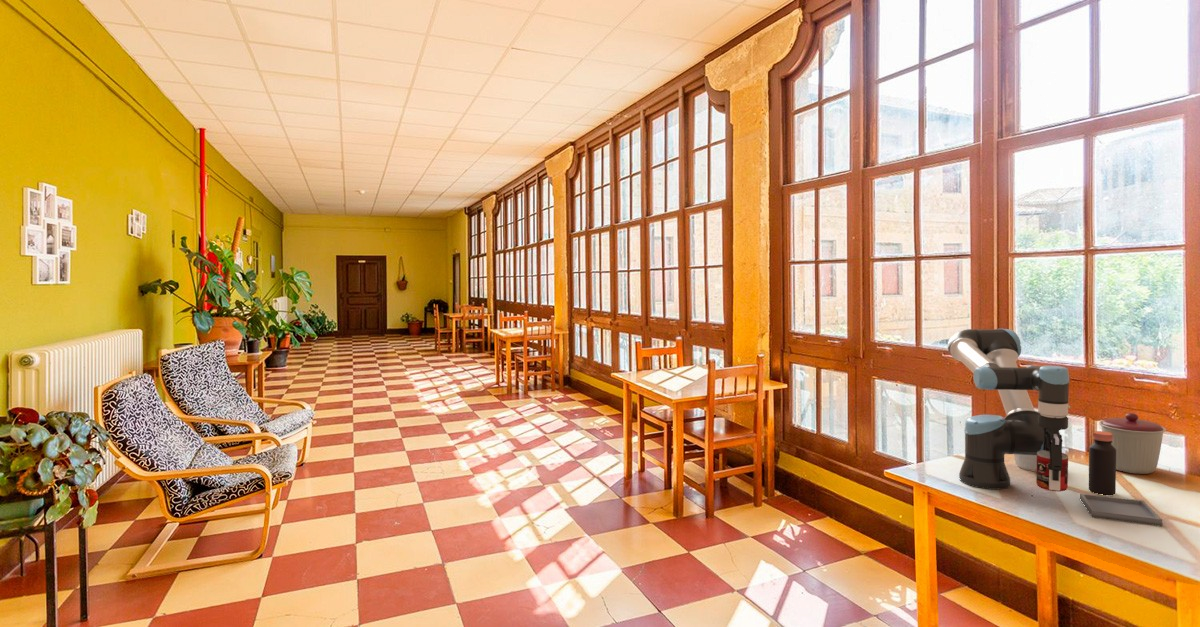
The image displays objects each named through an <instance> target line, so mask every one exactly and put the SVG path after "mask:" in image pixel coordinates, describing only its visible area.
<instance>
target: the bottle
mask: <svg viewBox="0 0 1200 627" xmlns="http://www.w3.org/2000/svg"><path fill="white" fill-rule="evenodd" d="M1092 439H1093V441H1094V442H1093V443H1092V444H1090V445H1089V448H1088V449H1089V450H1088V491H1089V490H1090V491H1089V492H1091V493H1093V492H1094V493H1093V494H1095V493H1098V494H1097V495H1099V494H1103V495H1102V496H1106V495H1112V496H1116V494H1117V493H1116V489H1117V488H1116V486H1117V484H1116V483H1117V482H1116V480H1117V479H1116V478H1117V470H1116V449H1115V448H1114V447H1113V446H1112V445H1111V442H1112V441H1113V434H1112V433H1109V432H1103V431H1102V430H1096V431H1093V432H1092Z"/></svg>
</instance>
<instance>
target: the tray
mask: <svg viewBox="0 0 1200 627" xmlns="http://www.w3.org/2000/svg"><path fill="white" fill-rule="evenodd" d="M1080 499H1081V501H1082V502H1083V503H1082V502H1081V501H1080V502H1081V503H1082V504H1084V505H1085V506H1084V505H1083V506H1084V508H1085V507H1086V508H1087V509H1086V508H1085V509H1086V511H1087V512H1088V511H1089V512H1088V514H1089V515H1090V514H1091V515H1090V517H1091V518H1093V517H1094V518H1095V519H1100V518H1101V520H1102V519H1103V520H1110V521H1116V522H1124V523H1134V524H1142V525H1148V526H1149V525H1150V526H1156V527H1162V526H1163V519H1162V517H1161V516H1159V515H1158V514H1157V513H1156V511H1154V510H1153V508H1152V507H1151V506H1149V505H1148V504H1147V503H1146V502H1145V500H1144V499H1143V500H1142V499H1132V498H1124V497H1116V496H1114V497H1113V496H1106V495H1099V494H1089V493H1079V500H1080Z"/></svg>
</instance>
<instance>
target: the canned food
mask: <svg viewBox="0 0 1200 627" xmlns="http://www.w3.org/2000/svg"><path fill="white" fill-rule="evenodd" d="M1048 467H1049V468H1050V453H1049V451H1046V450H1041V451H1038V452H1037V471H1036V480H1035V481H1036V485H1037V487H1039V488H1040V489H1042V490H1045V491H1050V492H1058V491H1057V490H1049V470H1048V469H1047V468H1048ZM1062 468H1063V469H1062V471H1061V474H1060V491H1059V492H1065V491H1067V490H1068V484H1069V483H1068V481H1069V456H1068V454H1067V453H1064V452H1062Z"/></svg>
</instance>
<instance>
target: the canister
mask: <svg viewBox="0 0 1200 627" xmlns="http://www.w3.org/2000/svg"><path fill="white" fill-rule="evenodd" d="M1124 415H1125V416H1124V417H1108V418H1105V419H1103V420H1100V421H1099V422H1098V424H1099V426H1101V431H1103V432H1109V433H1112V434H1113V441H1112V442H1111V445H1112V446H1113V447H1114V448H1115V449H1116V471H1119V472H1122V471H1123V472H1124V473H1127V474H1134V475H1135V474H1136V475H1149V474H1152V473H1154V472H1155V471H1156V470H1157V468H1158V464H1159V459H1160V456H1161V455H1160V454H1161V450H1162V449H1161V448H1162V443H1163V437H1164V436H1163V435H1164V433H1165V432H1166V431H1167V429H1166V428H1165V427H1163V426H1162V425H1161V424H1158V423H1156V422H1153V421H1150V420H1145V419H1139V415H1138V414H1137V413H1134V412H1127V413H1126V414H1124Z"/></svg>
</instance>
